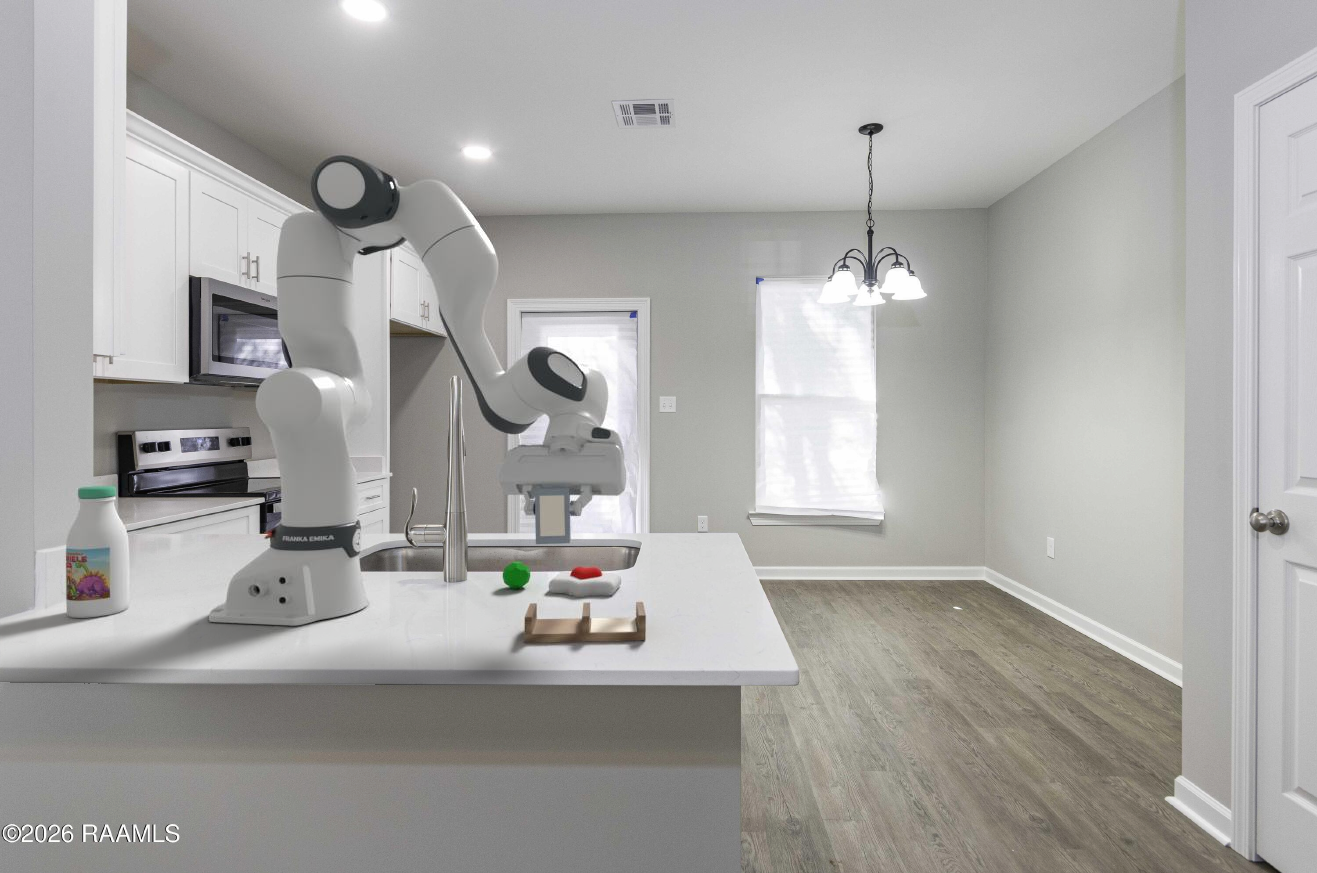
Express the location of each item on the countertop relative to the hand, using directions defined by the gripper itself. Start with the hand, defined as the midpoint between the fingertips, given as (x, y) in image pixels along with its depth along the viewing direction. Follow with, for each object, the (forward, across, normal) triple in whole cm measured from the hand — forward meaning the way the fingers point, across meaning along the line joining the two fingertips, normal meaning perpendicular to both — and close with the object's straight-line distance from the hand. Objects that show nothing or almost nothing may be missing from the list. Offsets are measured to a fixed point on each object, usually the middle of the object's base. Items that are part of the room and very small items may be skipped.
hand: (551, 513), depth 100 cm
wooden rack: (+14, +6, +11) cm, 18 cm away
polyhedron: (-2, -14, +27) cm, 31 cm away
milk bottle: (+16, -73, +6) cm, 75 cm away
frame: (+3, 0, +4) cm, 4 cm away
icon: (-3, -2, +28) cm, 28 cm away
